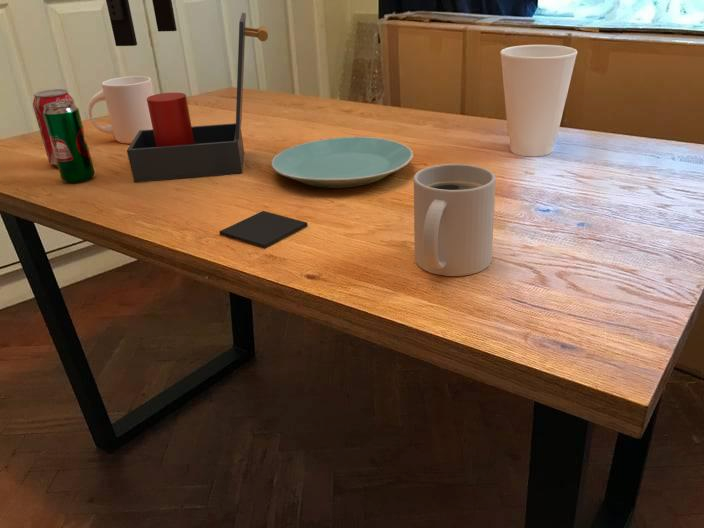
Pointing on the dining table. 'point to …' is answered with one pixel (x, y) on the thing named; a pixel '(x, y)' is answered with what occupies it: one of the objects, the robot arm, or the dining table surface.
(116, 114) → the mug
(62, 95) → the beverage can
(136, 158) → the dark grey open box
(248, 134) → the dining table surface
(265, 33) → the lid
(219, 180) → the dining table surface
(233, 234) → the rubber mat
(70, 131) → the soda can
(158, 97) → the red cylinder
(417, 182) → the mug
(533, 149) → the cup
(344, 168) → the plate
